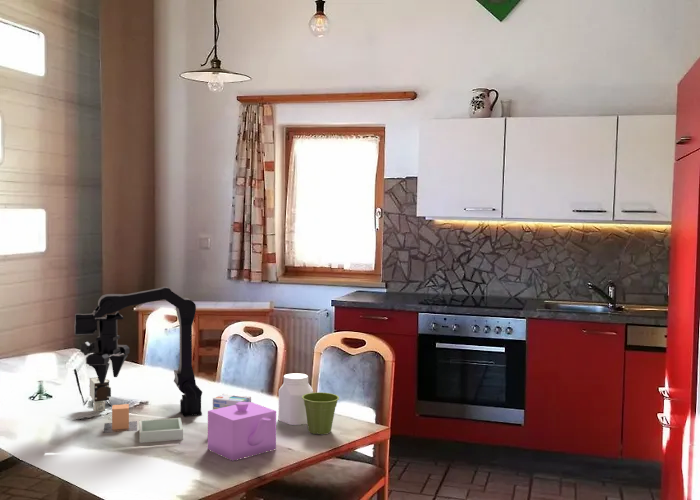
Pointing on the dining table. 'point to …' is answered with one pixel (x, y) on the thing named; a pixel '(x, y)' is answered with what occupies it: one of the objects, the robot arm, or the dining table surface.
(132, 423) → the stud plate
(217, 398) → the light bulb box
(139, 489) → the dining table surface
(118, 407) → the terracotta orange cube
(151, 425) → the tray
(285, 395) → the jar
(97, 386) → the pneumatic valve
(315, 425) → the plant pot
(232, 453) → the lilac knobbed box
